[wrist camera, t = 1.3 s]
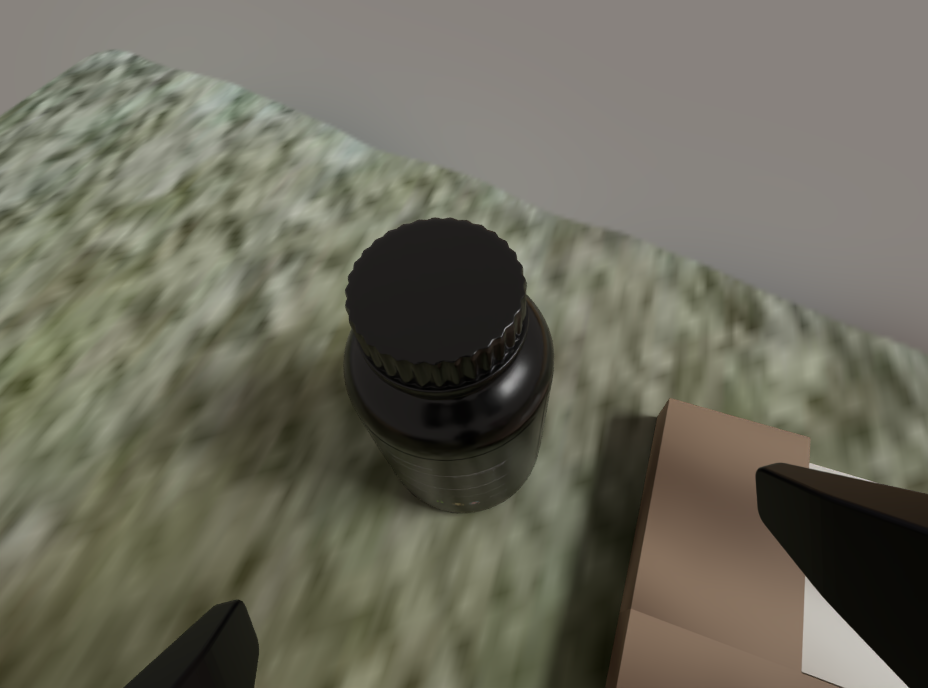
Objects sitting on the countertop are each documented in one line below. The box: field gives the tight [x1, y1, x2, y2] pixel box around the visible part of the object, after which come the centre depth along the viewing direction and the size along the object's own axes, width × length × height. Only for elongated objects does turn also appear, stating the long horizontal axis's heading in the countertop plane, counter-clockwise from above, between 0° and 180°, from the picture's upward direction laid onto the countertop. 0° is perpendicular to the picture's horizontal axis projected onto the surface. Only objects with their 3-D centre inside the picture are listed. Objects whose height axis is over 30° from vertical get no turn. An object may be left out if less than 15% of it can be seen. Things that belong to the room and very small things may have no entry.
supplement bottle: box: [343, 218, 554, 513], centre depth 19 cm, size 7×7×12 cm
